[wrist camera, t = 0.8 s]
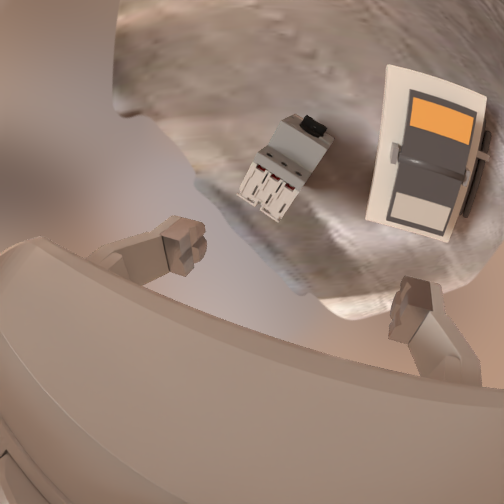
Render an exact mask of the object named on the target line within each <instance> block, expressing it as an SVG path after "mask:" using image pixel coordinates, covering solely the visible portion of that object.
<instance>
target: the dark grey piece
mask: <svg viewBox="0 0 504 504" xmlns="http://www.w3.org/2000/svg"><path fill="white" fill-rule="evenodd" d="M485 124H486V119H485V118H484V121H483V127H482V132H481V137H480V142H479V147H478V151H477V155H476V160H475V164H474V167H473V171H472V175H471V178H470V182H469V185H468V188H467V192H466V195H465V198H464V201H463V204H462V207H461V210H460V213H459V215H461V214H462V211H463V208H464V205H465V202H466V199H467V196H468V193H469V190H470V187H471V184H472V180H473V177H474V173H475V170H476V166H477V162H478V158H480V159H479V163H478V167H477V171H476V175H475V178H474V182H473V185H472V188H471V191H470V195H469V198H468V201H467V204H466V206H465V209H464V212H463V216H464V217H465V218H467V217H468V215H469V213H470V210H471V207H472V204H473V201H474V198H475V195H476V192H477V189H478V186H479V183H480V179H481V176H482V172H483V169H484V165H485V161H487V162H489V159H490V155H489V154H487V153H488V148H489V144H490V139H491V133H490V132H489V131H486V133H485V137H484V142H483V147H482V151H481V150H480V149H481V145H482V140H483V135H484V130H485Z"/></svg>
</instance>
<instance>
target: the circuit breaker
mask: <svg viewBox="0 0 504 504" xmlns="http://www.w3.org/2000/svg"><path fill="white" fill-rule="evenodd" d="M326 130H327V128H326V127H325V126H324V125H322V124H320V123H318V122H316V121H315V120H313V118H311V117H309V116H308V115H306V116H305V117H304V119H303V118H302V117H300V116H298V115H297V114H294V115H292V116H289V117H287V118H285V119H283V120H281V122H280V123H279V125H278V127H277V129H276V131H275V133H274V134H273V136H272V138H271V140H270V142H269V144H268V145H267V146H266V147H264V148H263V149H261V150H260V151H259V152H258V153H257V154H256V156H255V158H254V160H253V162H252V164H251V166H250V168H249V170H248V172H247V174H246V176H245V178H244V180H243V182H242V184H241V186H240V188H239V190H241V191H240V194H239V193H237V194H236V195H238V196H239V197H241V198H242V199H244V200H245V201H247V202H248V203H250V204H251V205H253V206H254V207H255V206H256V205H257V204H258V203H260V204H261V205H262V207H261V208H260V211H262V212H263V213H265V214H266V215H268V216H269V217H271V218H272V219H274V220H275V221H277V222H279V221H280V220H279V219H278V218H279V217H280V218H282V216H283V215H284V213H285V212H286V210H287V209H288V208H289V206H290V205H291V203H292V202H293V200H294V199H295V197H296V196H297V194H298V193H299V191H300V190H301V188H302V187H303V185H304V184H305V182H306V181H307V179H308V178H309V176H310V175H311V173H312V172H313V170H314V169H315V167H316V166H317V164H318V163H319V161H320V160H321V158H322V157H323V155H324V154H325V152H326V151H327V149H328V148H329V146H330V145H331V143H332V142H333V140H334V139H335V138H333V137H332V136H330V135H329V134H327V133H325V132H326ZM249 198H250V199H252V200H253V201H254V202H252V201H251V200H249ZM265 209H267V210H268V211H270V212H271V213H269V212H267V211H266V210H265Z"/></svg>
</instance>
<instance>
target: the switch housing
mask: <svg viewBox="0 0 504 504" xmlns="http://www.w3.org/2000/svg"><path fill="white" fill-rule="evenodd" d="M409 89H412V90H416V91H419V92H423V93H426V94H429V95H433V96H436V97H439V98H442V99H445V100H448V101H450V102H453V103H456V104H458V105H461V106H464V107H466V108H469V109H471V110H474V111H476V112H477V116H476V123H475V128H474V134H473V139H472V144H471V148H470V153H469V157H468V161H467V165H466V169H465V179H464V181H463V182H462V183H461V187H460V190H459V193H458V196H457V199H456V202H455V205H454V208H453V211H452V214H451V217H450V220H449V223H448V225H447V228H446V230H445V233H444V236H443V237H442V236H439V235H436V234H432V233H429V232H426V231H422V230H419V229H415V228H412V227H408V226H405V225H401V224H397V223H394V222H390V221H386V215H387V211H388V207H389V203H390V199H391V195H392V190H393V186H394V182H395V177H396V172H397V168H398V155H399V152H401V147H402V141H403V135H404V128H405V121H406V114H407V106H408V97H409ZM486 100H487V97H485V96H483V95H481V94H479V93H476V92H474V91H472V90H469V89H467V88H464V87H462V86H459V85H456V84H454V83H451V82H448V81H445V80H442V79H440V78H437V77H433V76H430V75H427V74H424V73H420V72H417V71H413V70H409V69H405V68H401V67H397V66H393V65H389V64H388V65H387V66H386V77H385V90H384V101H383V110H382V119H381V127H380V134H379V141H378V148H377V154H376V161H375V166H374V172H373V177H372V183H371V188H370V193H369V198H368V202H367V209H366V217H365V220H368V221H372V222H376V223H380V224H384V225H388V226H391V227H395V228H399V229H402V230H406V231H410V232H413V233H417V234H420V235H423V236H427V237H430V238H434V239H437V240H440V241H444V242H447V243H448V241H449V239H450V236H451V234H452V231H453V229H454V226H455V223H456V221H457V218H458V215H459V213H460V210H461V207H462V204H463V201H464V198H465V195H466V192H467V188H468V185H469V182H470V178H471V175H472V171H473V167H474V164H475V160H476V155H477V151H478V147H479V142H480V137H481V132H482V127H483V121H484V115H485V108H486Z"/></svg>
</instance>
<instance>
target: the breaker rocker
mask: <svg viewBox="0 0 504 504" xmlns="http://www.w3.org/2000/svg"><path fill="white" fill-rule="evenodd" d="M476 116H477V112H476V111H474V110H471V109H469V108H466V107H464V106H461V105H458V104H456V103H453V102H450V101H448V100H445V99H442V98H439V97H436V96H433V95H429V94H426V93H423V92H419V91H416V90H412V89H409V97H408V106H407V114H406V121H405V128H404V135H403V141H402V147H401V152H399V155H398V168H397V172H396V177H395V182H394V186H393V190H392V195H391V199H390V203H389V207H388V211H387V215H386V221H390V222H394V223H397V224H401V225H405V226H408V227H412V228H415V229H419V230H422V231H426V232H429V233H432V234H436V235H439V236H442V237H443V236H444V233H445V230H446V228H447V225H448V223H449V220H450V217H451V214H452V211H453V208H454V205H455V202H456V199H457V196H458V193H459V190H460V187H461V183H462V182H463V181H464V179H465V169H466V165H467V161H468V157H469V153H470V148H471V144H472V139H473V134H474V128H475V123H476Z"/></svg>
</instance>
